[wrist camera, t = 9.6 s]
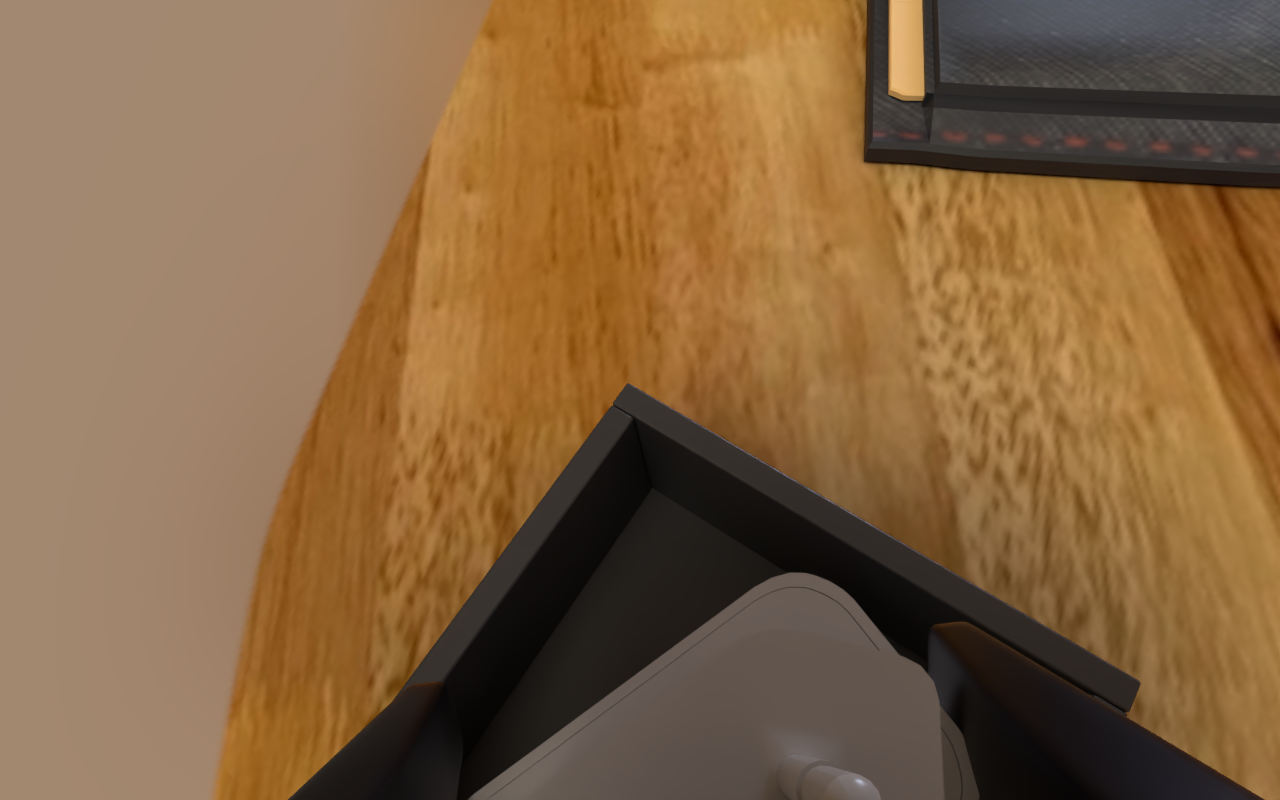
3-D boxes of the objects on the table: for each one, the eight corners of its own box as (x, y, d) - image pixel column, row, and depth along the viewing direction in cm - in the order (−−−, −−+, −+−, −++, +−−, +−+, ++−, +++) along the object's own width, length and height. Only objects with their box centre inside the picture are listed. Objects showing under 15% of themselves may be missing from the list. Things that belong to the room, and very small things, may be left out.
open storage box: (794, 1183, 14) (839, 1438, 9) (399, 821, 17) (271, 861, 12) (1017, 693, 17) (1143, 681, 12) (648, 465, 20) (627, 381, 15)
